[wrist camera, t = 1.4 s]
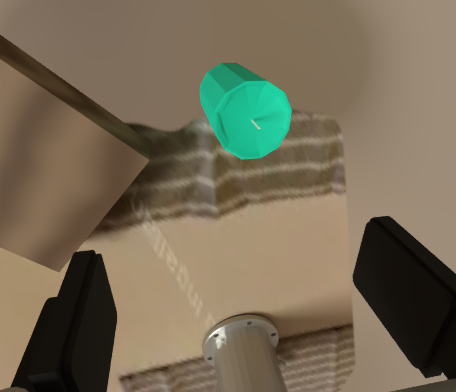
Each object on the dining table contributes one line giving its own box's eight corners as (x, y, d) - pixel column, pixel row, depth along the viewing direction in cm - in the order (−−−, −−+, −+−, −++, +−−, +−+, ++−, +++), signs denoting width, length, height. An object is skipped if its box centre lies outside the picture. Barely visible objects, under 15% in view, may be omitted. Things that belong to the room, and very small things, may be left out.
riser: (151, 142, 33) (149, 160, 29) (71, 243, 37) (59, 272, 33) (-11, 27, 26) (-45, 28, 22) (-88, 167, 30) (-129, 192, 26)
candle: (229, 48, 30) (263, 62, 20) (268, 92, 33) (316, 126, 23) (186, 94, 31) (198, 130, 21) (227, 133, 34) (255, 182, 24)
